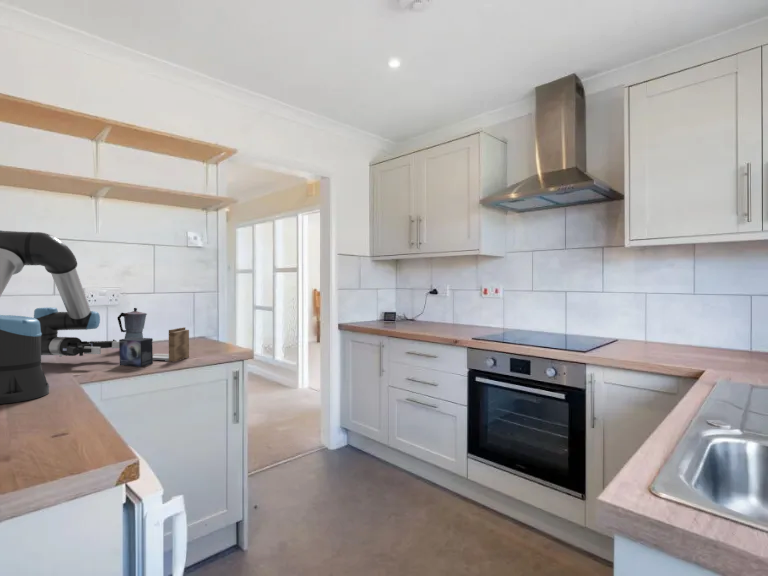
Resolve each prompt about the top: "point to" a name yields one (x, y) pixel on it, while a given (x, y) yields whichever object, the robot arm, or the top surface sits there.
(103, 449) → the top surface
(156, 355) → the bookend
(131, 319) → the moka pot
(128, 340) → the small box
